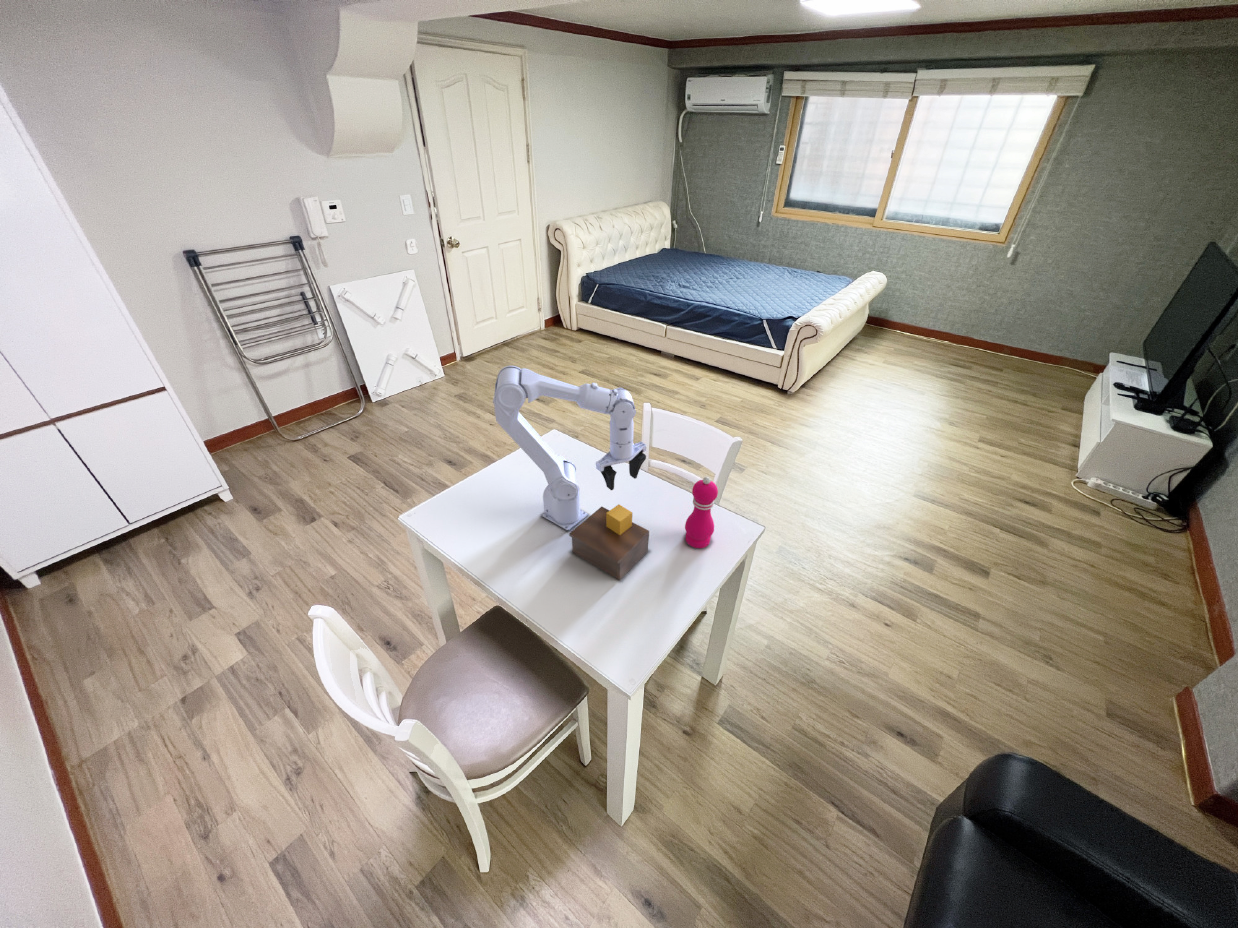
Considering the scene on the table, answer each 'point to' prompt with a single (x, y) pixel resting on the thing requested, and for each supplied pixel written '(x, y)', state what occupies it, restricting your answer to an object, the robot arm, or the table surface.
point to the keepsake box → (608, 564)
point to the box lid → (608, 536)
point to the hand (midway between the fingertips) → (621, 482)
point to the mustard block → (619, 519)
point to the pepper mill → (701, 514)
